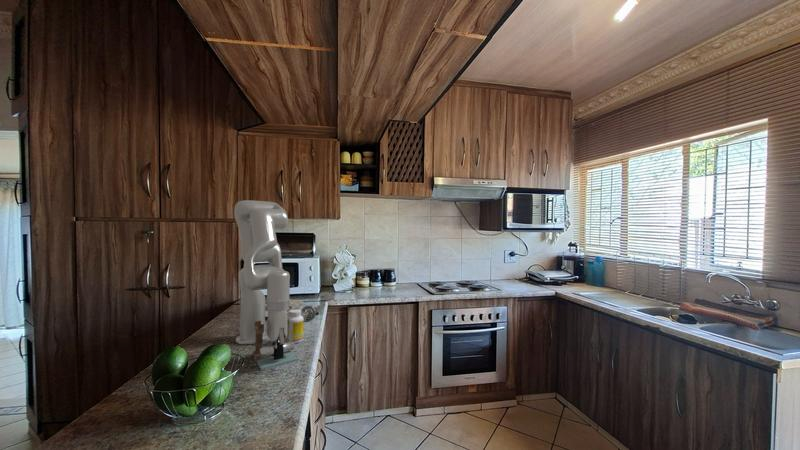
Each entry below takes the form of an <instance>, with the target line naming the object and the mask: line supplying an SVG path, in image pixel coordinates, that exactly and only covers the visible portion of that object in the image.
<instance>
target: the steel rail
mask: <svg viewBox="0 0 800 450" xmlns="http://www.w3.org/2000/svg"><path fill="white" fill-rule="evenodd" d="M272 345H273V344H272ZM274 348H275V345H273V346H271V345H270V346H266V347H265V346H264V347H262V348H260V357H265V356H270V355H274ZM294 349H295V344H294V342H293V341H291V342H287V343H284V352H286V351H290V352H291V351H293V350H294Z"/></svg>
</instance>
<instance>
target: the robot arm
mask: <svg viewBox="0 0 800 450" xmlns="http://www.w3.org/2000/svg"><path fill="white" fill-rule="evenodd" d="M233 212H234V219H235V222H236V225H237V228H238V230H239V234H240V251H241V252H240V253H241V259H242V261H243V268H241V269H240V270H239V272H238V282H239V283H238V284H239V289H240V312H239V313H240V316H239V317H240V318H239V319H240V320H239V321H240V322H239V323H240V324H239V335H237V336H236V337H235V343H237V344H239V345H252V344H254V345H255V340H256V331H255V321H261V324H264V333H263V341H266V340H268V338H269V339H270V340H271V345H270V346H273V345H275V348H274V355H271V356H273V357H274V360H277V359H281V358H283V357H284V339H286V338H287V319H288V314H287V310H289V299H290V289H291V288H290V286H291V285H290V283H291V282H290V281H291V280H290V279H291V275H290V272H289V271H287V270H285V269H283V261H282V251H281V250H282V249H281V246H280V244H279V242H278V240H277V239H278V238H277V234H276V230H277V229H279V230H280V229H281V230H282V229H285V228H286V227H288V223H289V218H288V214H287V212H286V210H285V209H284V208H283V207H282V206H281V205H280V204H279V203H277V202H274V201H264V200H252V199H251V200H250V199H248V200H247V199H246V200H239V201H238V202H236V203H235V205H234V211H233ZM265 262H267V263H268V264H257V265H256V264H255V265H254V263H265ZM262 290H266V296H265V294H264V292H263V291H262ZM266 311H267V312H268V317H266V318H265V312H266ZM266 320H267V321H266Z"/></svg>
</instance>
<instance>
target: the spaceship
mask: <svg viewBox="0 0 800 450" xmlns="http://www.w3.org/2000/svg"><path fill="white" fill-rule="evenodd" d="M300 310H301V316H303V319H304V321H305V322H311V321H313V320H314V319H315V318H316V317H317V316H316V314H317V313H322V306H321V305H319V304H318V305H317V306H313V305H312V304H311V305H305V306H303V307H302V309H300Z"/></svg>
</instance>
